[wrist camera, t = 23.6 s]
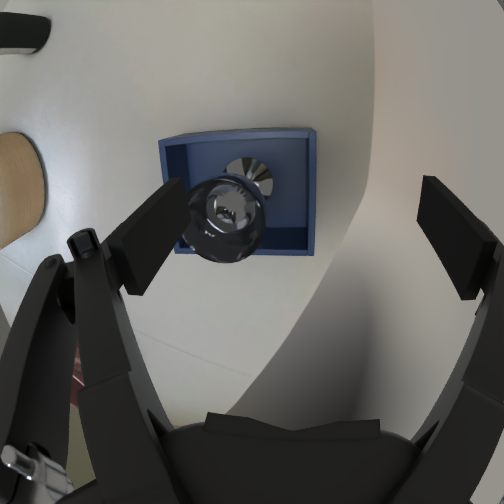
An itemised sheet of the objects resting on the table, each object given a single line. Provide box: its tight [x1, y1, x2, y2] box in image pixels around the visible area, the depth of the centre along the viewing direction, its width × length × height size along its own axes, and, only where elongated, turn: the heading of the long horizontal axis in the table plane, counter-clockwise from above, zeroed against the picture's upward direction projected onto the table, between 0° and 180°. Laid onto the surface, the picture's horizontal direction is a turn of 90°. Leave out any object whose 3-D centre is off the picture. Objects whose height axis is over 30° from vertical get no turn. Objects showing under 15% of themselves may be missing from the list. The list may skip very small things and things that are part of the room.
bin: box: [158, 128, 316, 256], centre depth 36 cm, size 18×15×8 cm
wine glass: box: [182, 157, 273, 263], centre depth 32 cm, size 8×8×15 cm
